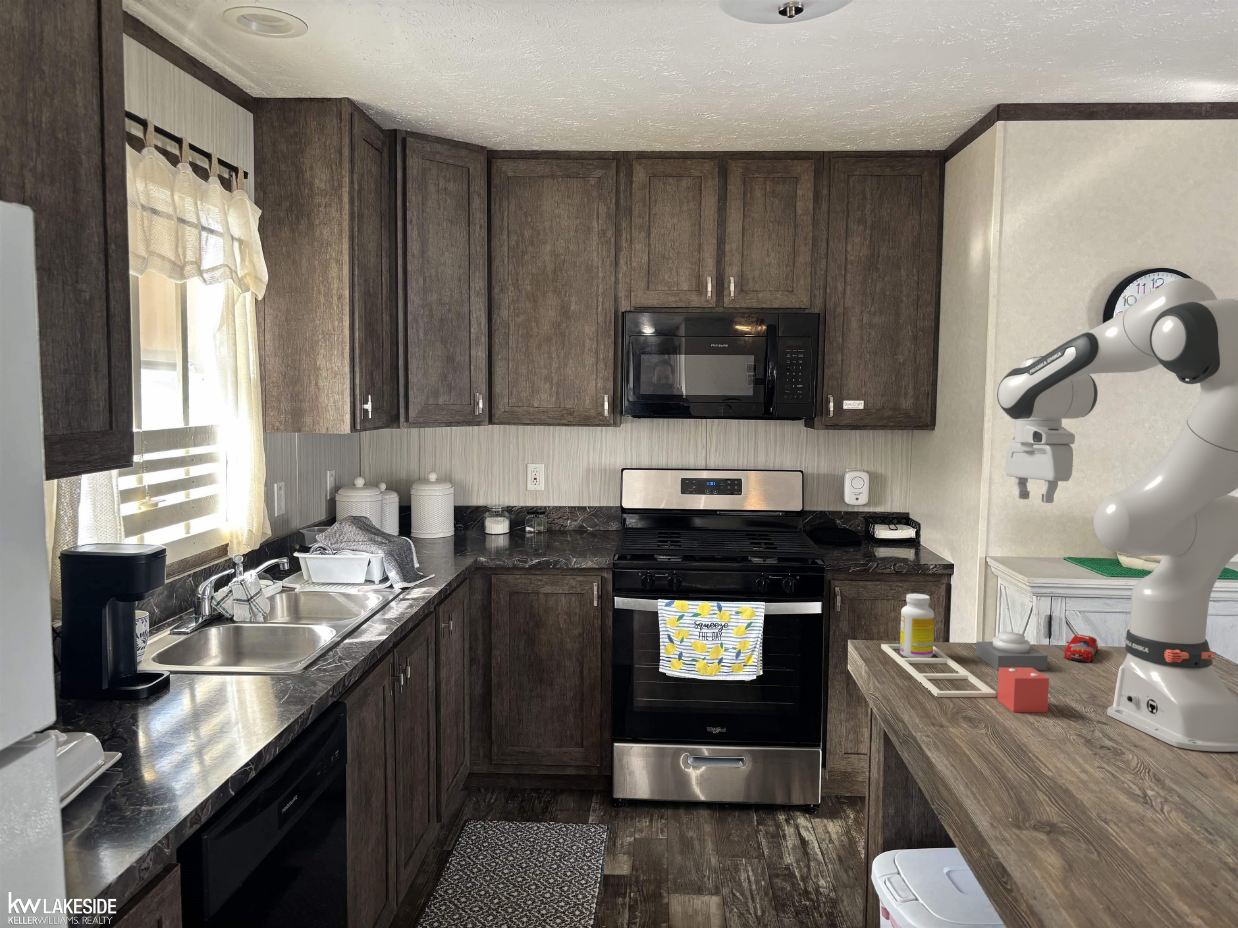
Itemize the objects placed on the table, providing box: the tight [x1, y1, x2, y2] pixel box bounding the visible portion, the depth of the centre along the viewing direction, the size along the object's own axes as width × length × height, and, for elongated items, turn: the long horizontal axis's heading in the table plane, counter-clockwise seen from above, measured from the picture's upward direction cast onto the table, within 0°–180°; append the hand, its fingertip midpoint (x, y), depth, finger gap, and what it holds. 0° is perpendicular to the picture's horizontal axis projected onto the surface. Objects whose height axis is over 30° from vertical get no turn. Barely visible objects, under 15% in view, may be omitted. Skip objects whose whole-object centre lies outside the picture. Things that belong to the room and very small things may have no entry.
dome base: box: [975, 641, 1048, 671], centre depth 179 cm, size 10×10×3 cm
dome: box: [992, 631, 1031, 653], centre depth 178 cm, size 7×7×3 cm
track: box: [880, 643, 998, 698], centre depth 173 cm, size 31×11×1 cm, turn 1°
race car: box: [1064, 634, 1099, 663], centre depth 185 cm, size 13×5×4 cm, turn 143°
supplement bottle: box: [899, 593, 935, 658], centre depth 183 cm, size 7×7×13 cm
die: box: [997, 668, 1050, 713], centre depth 153 cm, size 6×6×6 cm
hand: (1035, 500), depth 182 cm, fingers open, 8 cm apart
